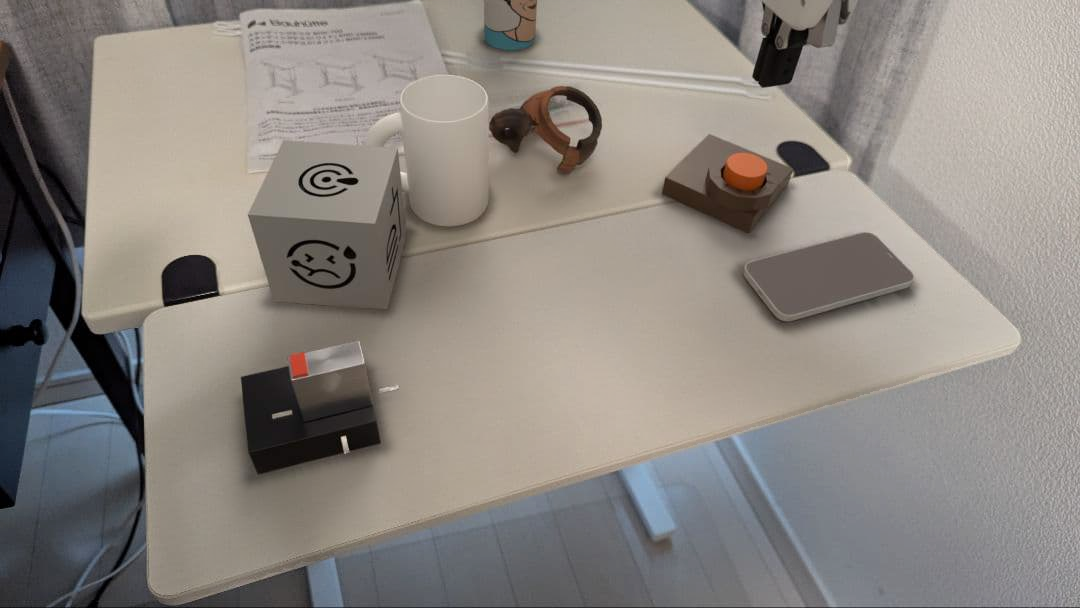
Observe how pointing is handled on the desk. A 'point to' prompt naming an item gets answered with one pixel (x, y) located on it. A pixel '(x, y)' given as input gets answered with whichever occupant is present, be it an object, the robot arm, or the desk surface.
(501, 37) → the cup
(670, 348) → the desk surface
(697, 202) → the control block
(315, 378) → the red-banded grey bar
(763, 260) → the smartphone
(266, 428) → the switch panel
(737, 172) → the power button
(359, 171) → the icon cube
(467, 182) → the mug
